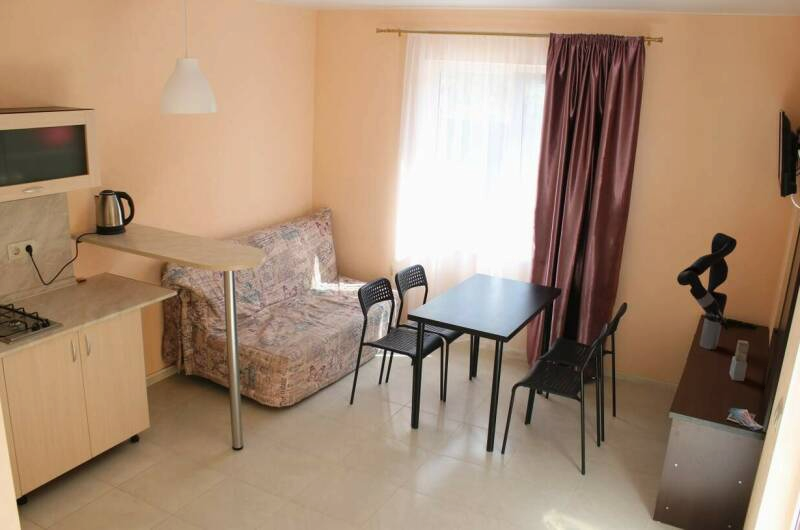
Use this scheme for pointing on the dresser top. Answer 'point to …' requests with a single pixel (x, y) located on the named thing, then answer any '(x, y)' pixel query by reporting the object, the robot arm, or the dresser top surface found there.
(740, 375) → the small box
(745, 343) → the maple block
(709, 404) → the dresser top surface
